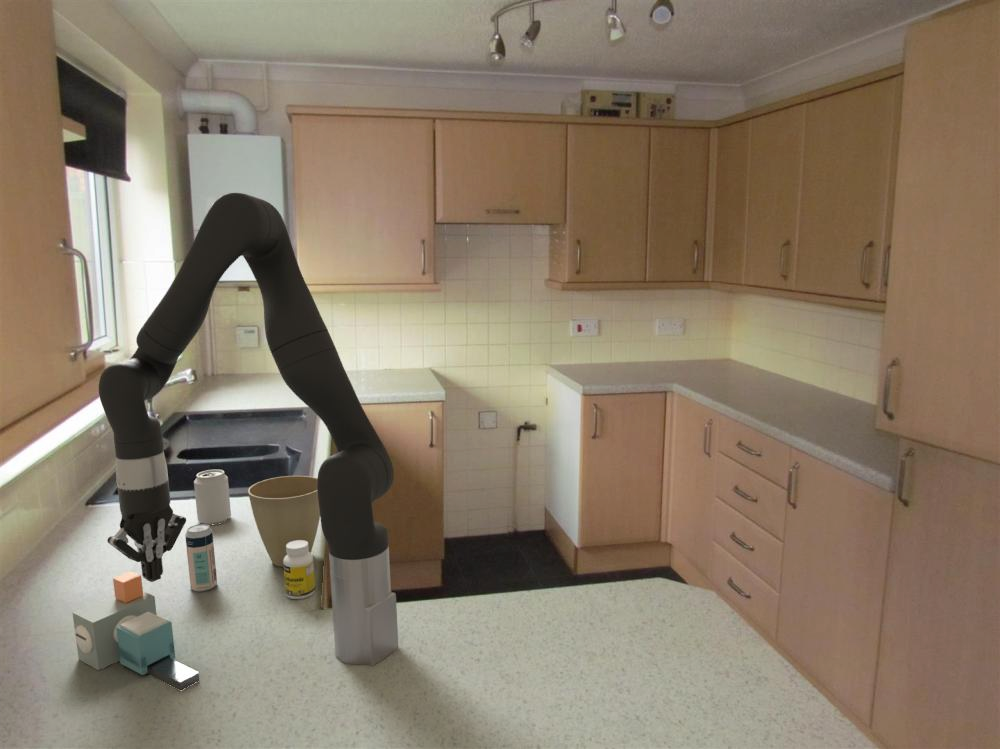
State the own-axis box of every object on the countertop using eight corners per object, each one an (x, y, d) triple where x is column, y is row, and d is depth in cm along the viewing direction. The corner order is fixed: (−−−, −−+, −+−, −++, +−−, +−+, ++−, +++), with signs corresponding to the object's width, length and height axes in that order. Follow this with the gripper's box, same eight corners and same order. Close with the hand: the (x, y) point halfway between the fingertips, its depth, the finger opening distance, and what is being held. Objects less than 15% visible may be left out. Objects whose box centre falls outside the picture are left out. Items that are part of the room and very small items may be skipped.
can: (219, 512, 179) (215, 466, 177) (237, 519, 175) (233, 471, 173) (191, 522, 173) (186, 474, 171) (209, 529, 169) (205, 479, 167)
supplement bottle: (279, 597, 135) (275, 547, 133) (297, 585, 140) (293, 536, 138) (304, 602, 133) (300, 551, 131) (321, 589, 138) (318, 540, 136)
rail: (199, 681, 109) (198, 672, 108) (181, 691, 106) (180, 682, 106) (139, 651, 117) (138, 642, 117) (121, 659, 115) (120, 651, 115)
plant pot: (299, 580, 142) (293, 502, 139) (238, 569, 147) (231, 494, 144) (342, 550, 155) (338, 478, 153) (285, 541, 161) (280, 472, 158)
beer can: (209, 579, 143) (203, 521, 141) (222, 586, 140) (216, 527, 138) (185, 588, 139) (179, 529, 137) (198, 595, 136) (192, 534, 134)
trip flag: (143, 595, 119) (141, 575, 118) (125, 603, 116) (123, 582, 116) (133, 591, 121) (130, 571, 120) (115, 598, 118) (112, 578, 118)
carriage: (175, 658, 114) (171, 619, 113) (142, 675, 109) (137, 635, 108) (153, 647, 117) (149, 609, 116) (120, 663, 113) (115, 624, 112)
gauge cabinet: (160, 641, 120) (155, 596, 119) (96, 673, 111) (90, 624, 110) (138, 631, 124) (133, 587, 122) (75, 661, 115) (68, 614, 114)
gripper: (115, 496, 112) (127, 601, 115) (193, 473, 122) (202, 570, 125) (89, 488, 116) (102, 589, 119) (167, 466, 126) (176, 560, 129)
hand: (153, 579), depth 122 cm, fingers closed
